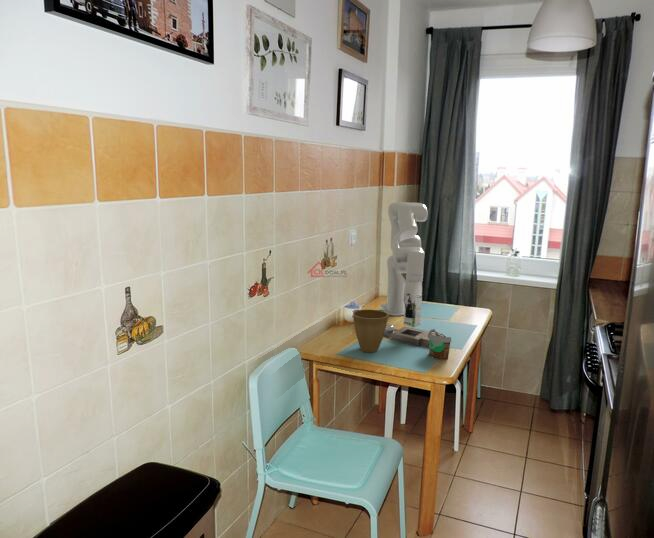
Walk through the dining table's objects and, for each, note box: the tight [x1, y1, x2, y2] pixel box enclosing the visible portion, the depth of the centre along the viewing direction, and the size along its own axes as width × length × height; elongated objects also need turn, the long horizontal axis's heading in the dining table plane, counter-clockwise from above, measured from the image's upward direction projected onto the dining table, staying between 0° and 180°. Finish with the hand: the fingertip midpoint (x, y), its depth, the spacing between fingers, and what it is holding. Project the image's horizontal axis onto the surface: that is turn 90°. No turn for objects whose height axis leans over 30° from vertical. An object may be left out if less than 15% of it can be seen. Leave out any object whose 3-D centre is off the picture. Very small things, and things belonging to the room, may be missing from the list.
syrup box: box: [402, 294, 423, 328], centre depth 235 cm, size 6×6×14 cm
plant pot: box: [352, 308, 389, 353], centre depth 221 cm, size 15×15×16 cm
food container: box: [427, 328, 452, 361], centre depth 215 cm, size 12×6×10 cm, turn 23°
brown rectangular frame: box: [391, 325, 430, 347], centre depth 235 cm, size 21×14×4 cm, turn 55°
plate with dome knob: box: [383, 324, 421, 347], centre depth 239 cm, size 21×14×4 cm, turn 55°
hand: (412, 315), depth 236 cm, fingers closed on syrup box, 6 cm apart
